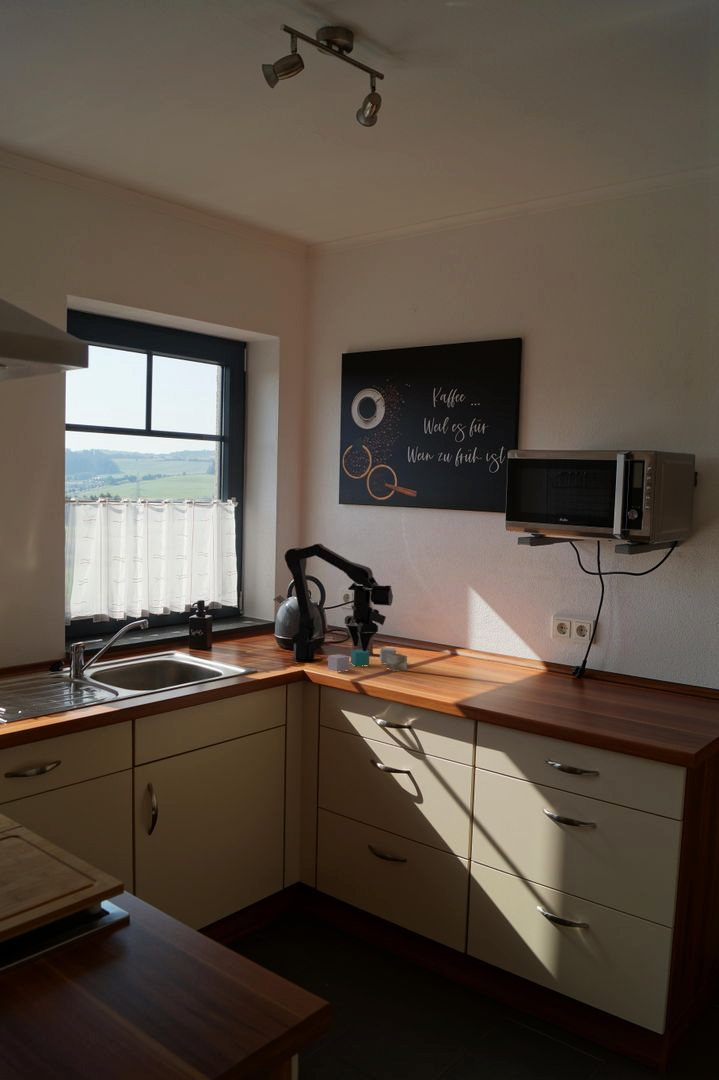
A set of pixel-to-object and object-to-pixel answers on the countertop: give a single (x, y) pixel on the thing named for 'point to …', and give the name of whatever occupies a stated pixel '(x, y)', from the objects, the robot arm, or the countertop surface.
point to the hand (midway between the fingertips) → (360, 648)
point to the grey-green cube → (396, 662)
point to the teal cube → (360, 657)
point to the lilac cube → (338, 662)
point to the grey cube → (386, 651)
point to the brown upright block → (369, 648)
